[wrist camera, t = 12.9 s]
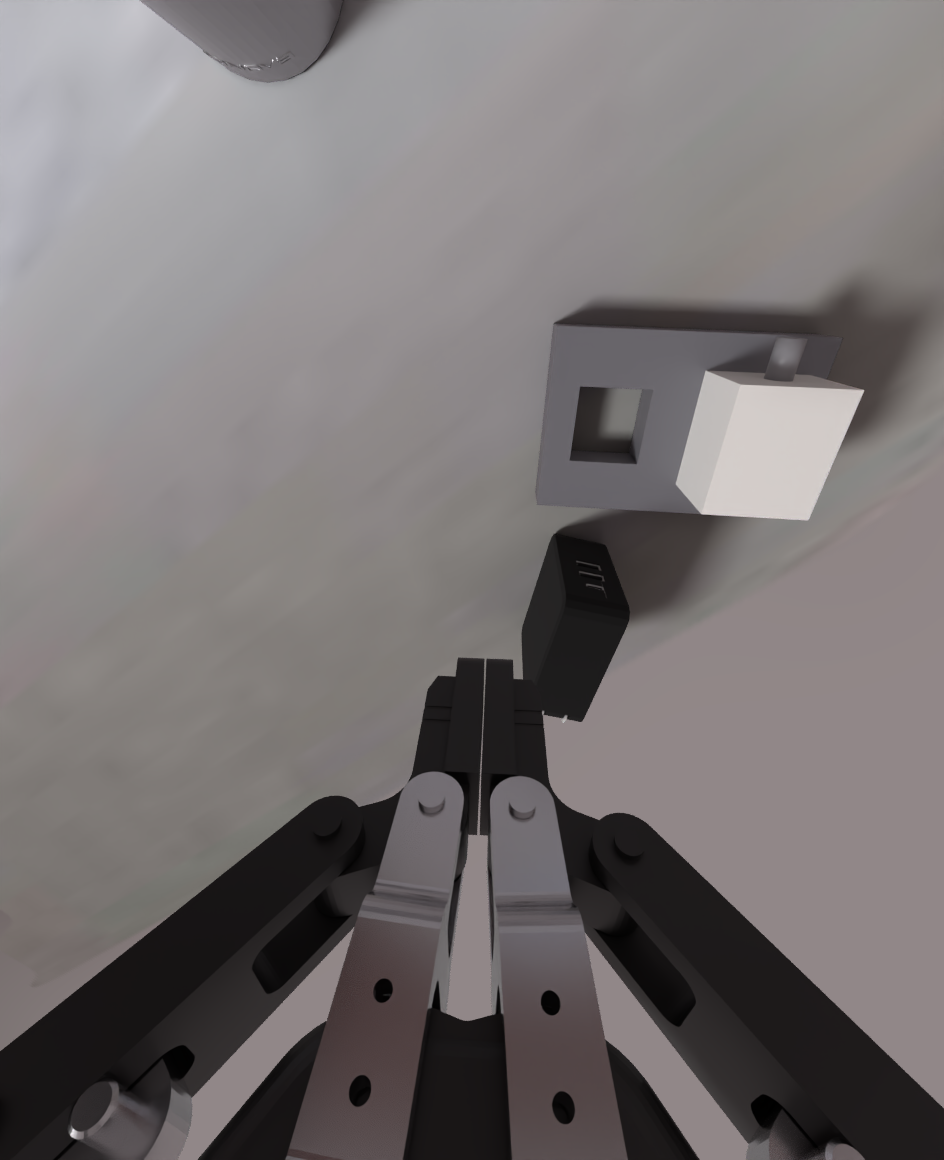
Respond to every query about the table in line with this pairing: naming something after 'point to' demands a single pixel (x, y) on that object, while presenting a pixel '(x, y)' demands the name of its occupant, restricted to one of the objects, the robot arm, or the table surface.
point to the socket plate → (643, 406)
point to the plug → (765, 438)
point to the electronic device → (572, 626)
